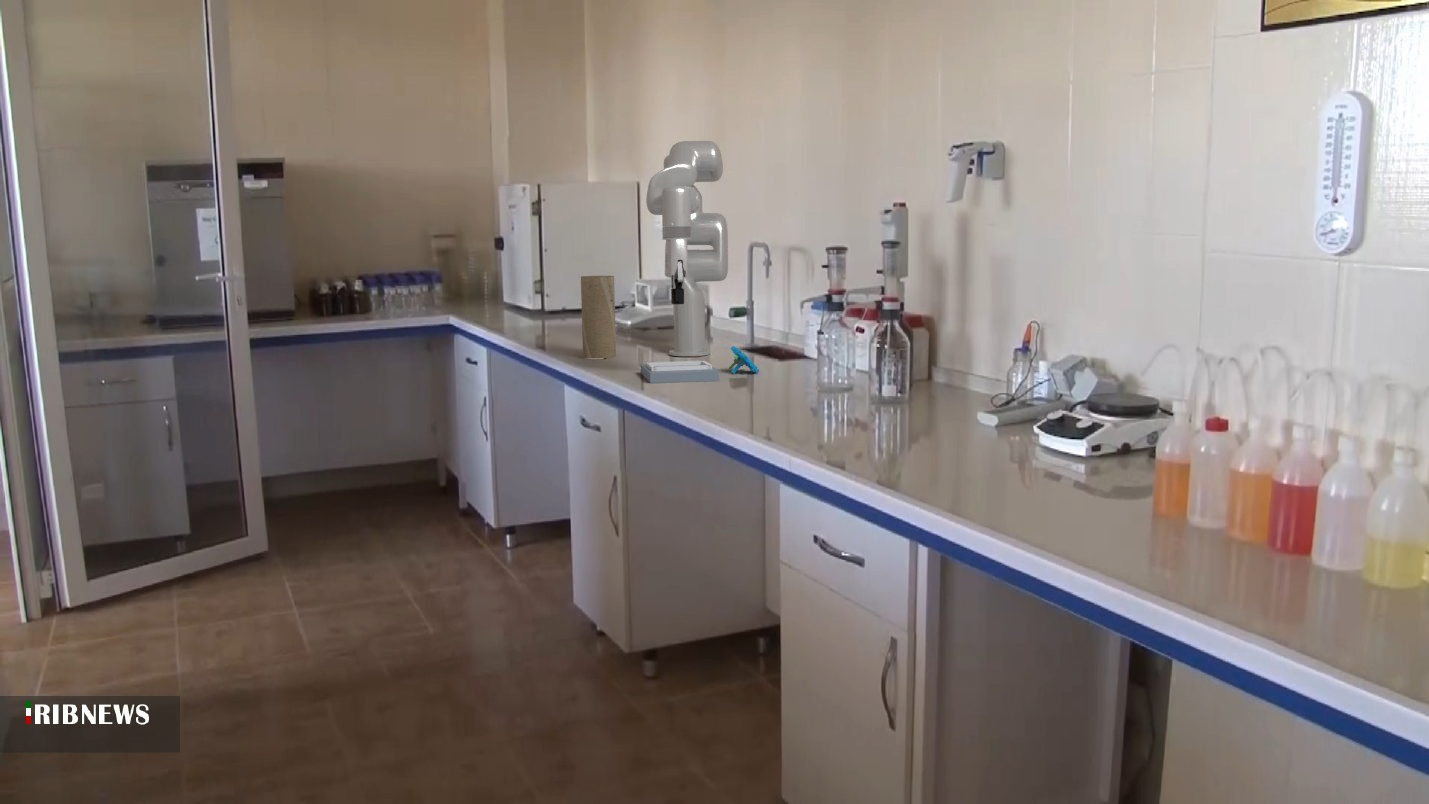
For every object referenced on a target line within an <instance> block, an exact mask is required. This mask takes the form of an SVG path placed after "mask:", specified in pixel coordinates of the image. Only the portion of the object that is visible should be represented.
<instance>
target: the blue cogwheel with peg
mask: <svg viewBox="0 0 1429 804" xmlns="http://www.w3.org/2000/svg"><path fill="white" fill-rule="evenodd" d="M730 350H731V351H732V353H733V354H734V355H735V356H734V357H733V358H734V359H733V363H731V365H730V366H729V367H728V369H729V370H731V373H732V374H733V375H734V374H735V373H736V372H737V371H738V370H739V369H740V368H741V367H743V366H745V367H747V368H749V370H751V371H752V372H753V373H755V374H758V373H759V372H760V370H759V367H758V366H757V365H756V364H754V363H753V361H752V359H751V358H749V356H747V355H746V354H745V353H744V352H742V351H741V349H739V348H738V347H736V346H734V345H732V346H731V348H730Z"/></svg>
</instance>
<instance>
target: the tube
mask: <svg viewBox="0 0 1429 804" xmlns="http://www.w3.org/2000/svg"><path fill="white" fill-rule="evenodd" d="M615 294H616V293H615V275H584V276H583V275H582V276H580V296H581V298H580V299H581V328H582V332H581V333H582V358H583V357H584V358H610V359H614V358H613V357H615V356H616V357H617V349H616V348H617V346H616V345H617V344H616V343H617V341H616V340H617V337H616V304H615V303H616V302H615V301H616V300H615V299H616V298H615V296H616V295H615ZM616 357H615V358H616ZM584 358H583V359H584Z"/></svg>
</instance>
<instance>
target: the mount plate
mask: <svg viewBox="0 0 1429 804" xmlns="http://www.w3.org/2000/svg"><path fill="white" fill-rule="evenodd" d="M640 374H641V375H642V376H643V377H644V378H645V380H647V382H648V383H650V384H660V383H661V384H663V383H664V384H665V383H689V382H690V383H691V382H692V383H693V382H697V383H698V382H719V381H720V370H718V369H716V368H715V367H714V366H713V365H712V364H710V363H709V362H708V361H706V360H687V361H685V360H684V361H682V360H681V361H654V362H653V361H652V362H650V361H649V362H645V364H644V363H643V364H640Z"/></svg>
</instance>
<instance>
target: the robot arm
mask: <svg viewBox="0 0 1429 804" xmlns="http://www.w3.org/2000/svg"><path fill="white" fill-rule="evenodd" d="M722 157H723V156H722V153H721V150H720V147H719V145H718V144H717V143H715V142H714V141H711V140H682V141H678V142H676V143H674V144H673V145H672V146H671V148H670V149H669V153H668V155H666V156H665V158H664V159H663V169H662V170H660V171H658V172H656V173H655V174H654V175H652V177H651V178H650V180H649V183H648V186H647V191H646V199H645V203H646V207H647V210H648V212H649V213H651V214H652V215H655V216H661V218H662V219H661V224H662V225H661V227H662V228H661V232H662V233H661V234H662V240H665V246H664V248H665V249H664V276H665V277H666V278H668V279H669V278H670V281H671V283H670V284H671V286H670V287H671V289H670V299H671V301H670V303H671V305H673V310H672V311H673V349H670V350H669V351H668V355H669V356H673V357H702V356H703V357H704V356H709V355H710V354H711V350H710V349H706V303H705V302H706V300H705V299H706V298H705V294H704V292H703V291H702V289H700V287H699V286H698V285H697V283H698V282H722V281H725V280H726V279H727V276H728V272H729V243H728V242H729V237H728V235H729V234H728V222H727V220H726V217H725V216H724V215H723V214H722V213H716V212H715V213H714V212H703V196H702V193H701V192H700V191H699V189H698V188H697V187H696V186H695V185H694V184H695V183H705V182H706V183H713V182H718V181H719V180H720V179H721V178H722V175H723V172H724V171H723V170H724V164H723V158H722ZM688 246H711V247H712V248H713V249H688Z"/></svg>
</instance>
